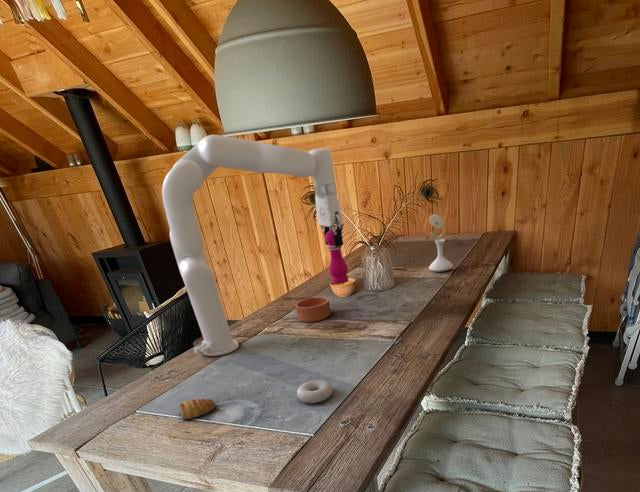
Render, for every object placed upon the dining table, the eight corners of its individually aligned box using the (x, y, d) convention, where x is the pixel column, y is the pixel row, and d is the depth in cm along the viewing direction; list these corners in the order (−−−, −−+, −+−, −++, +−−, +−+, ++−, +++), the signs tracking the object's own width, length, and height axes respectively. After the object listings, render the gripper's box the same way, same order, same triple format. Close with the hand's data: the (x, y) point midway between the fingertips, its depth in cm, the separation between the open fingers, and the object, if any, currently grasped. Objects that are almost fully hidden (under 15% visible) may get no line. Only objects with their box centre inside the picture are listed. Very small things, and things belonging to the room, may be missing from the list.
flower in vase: (457, 269, 223) (456, 212, 209) (438, 275, 218) (436, 217, 204) (440, 265, 232) (438, 211, 219) (422, 270, 228) (418, 215, 214)
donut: (303, 389, 135) (293, 406, 126) (301, 378, 133) (291, 394, 125) (337, 387, 133) (328, 404, 125) (335, 377, 131) (326, 393, 123)
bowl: (314, 324, 180) (311, 309, 177) (291, 320, 187) (288, 305, 184) (337, 313, 188) (335, 298, 185) (315, 309, 196) (312, 295, 192)
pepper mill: (349, 283, 174) (340, 226, 163) (330, 285, 174) (320, 228, 163) (350, 278, 180) (342, 222, 169) (332, 280, 180) (322, 225, 169)
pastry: (213, 401, 134) (208, 390, 132) (218, 411, 129) (213, 399, 127) (179, 412, 131) (175, 401, 129) (183, 422, 126) (178, 410, 124)
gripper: (304, 191, 164) (314, 244, 174) (328, 192, 152) (338, 249, 162) (322, 188, 168) (331, 240, 177) (348, 188, 155) (355, 245, 165)
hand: (334, 244), depth 169 cm, fingers closed on pepper mill, 6 cm apart
